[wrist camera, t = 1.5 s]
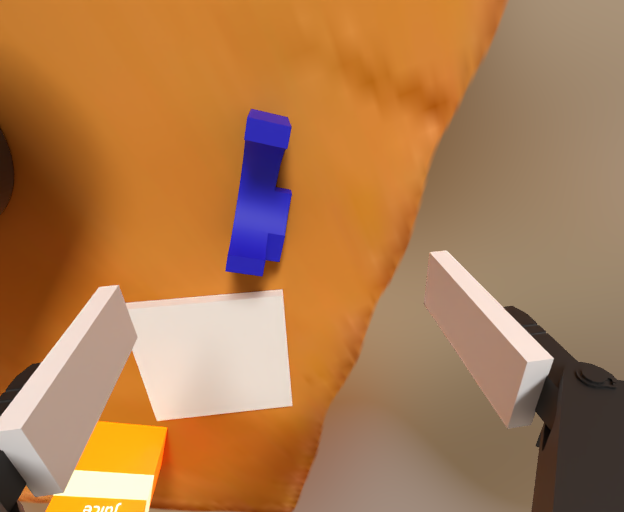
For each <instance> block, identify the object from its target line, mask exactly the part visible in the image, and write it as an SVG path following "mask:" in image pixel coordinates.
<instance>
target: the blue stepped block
mask: <svg viewBox="0 0 624 512" xmlns="http://www.w3.org/2000/svg"><path fill="white" fill-rule="evenodd" d="M290 132H291V125H290V122H289V119H288V117H284V116H280V115H276V114H271V113H267V112H263V111H258V110H254V109H251V111H250V113H249V115H248V117H247V124H246V131H245V138H244V140H245V148H244V157H243V165H242V173H241V180H240V187H239V194H238V200H237V207H236V213H235V219H234V225H233V231H232V236H231V242H230V247H229V252H228V257H227V264H226V271H228V272H235V273H242V274H249V275H256V276H263V271H264V266H265V260H269V261H275V262H280V257H281V252H282V248H283V243H284V238H285V232H286V224H287V217H288V211H289V206H290V200H291V195H292V193H291V190H289V189H283V188H278V187H276V182H277V177H278V173H279V168H280V164H281V160H282V157H283V154H284V151H285V149H287V148H288V142H289V137H290Z"/></svg>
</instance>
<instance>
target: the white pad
mask: <svg viewBox="0 0 624 512" xmlns="http://www.w3.org/2000/svg"><path fill="white" fill-rule="evenodd" d="M125 304H126V306H127V309H128V312H129V315H130V317H131V320H132V323H133V326H134V328H135V331H136V334H137V337H138V338H137V340H136V342H135V344H134V346H133V348H132V351H133V353H134V356H135V359H136V362H137V365H138V368H139V371H140V374H141V376H142V379H143V382H144V385H145V388H146V391H147V394H148V397H149V399H150V402H151V405H152V408H153V411H154V414H155V417H156V420H157V421H162V420H170V419H179V418H188V417H197V416H206V415H215V414H224V413H233V412H242V411H251V410H260V409H268V408H277V407H286V406H292V394H291V382H290V371H289V359H288V347H287V336H286V324H285V313H284V301H283V290H282V289H280V290H269V291H257V292H246V293H234V294H223V295H211V296H200V297H188V298H177V299H165V300H153V301H142V302H130V303H125Z"/></svg>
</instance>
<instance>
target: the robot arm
mask: <svg viewBox="0 0 624 512" xmlns="http://www.w3.org/2000/svg"><path fill="white" fill-rule="evenodd" d="M13 183H14V169H13V162H12V157H11V153H10V150H9V147H8V144H7V142H6V139H5V137H4V135H3V133H2V131H1V129H0V214H1V213H2V212H3V211H4V209H5V207H6V206H7V204H8V202H9V200H10V197H11V194H12V190H13ZM424 305H425V306H426V308H427V309H428V311H429V312H430V314H431V315H432V317H433V318H434V320H435V321H436V323H437V324H438V326H439V327H440V329H441V330H442V332H443V333H444V334H445V336H446V338H447V339H448V341H449V342H450V344H451V345H452V347H453V348H454V350H455V351H456V353H457V354H458V355H459V357H460V359H461V360H462V362H463V363H464V365H465V366H466V368H467V369H468V371H469V372H470V373H471V375H472V377H473V378H474V379H475V381H476V382H477V384H478V385H479V387H480V388H481V390H482V391H483V393H484V394H485V396H486V397H487V399H488V400H489V402H490V403H491V405H492V406H493V408H494V409H495V411H496V412H497V414H498V415H499V417H500V418H501V420H502V421H503V423H504V424H505V426H506V427H507V428H514V427H521V426H528V425H531V423H532V421H533V418H534V415H535V412H537V414H538V415H539V416H540V417H541V419H542V420H543V421H544V425H543V427H542V430H541V433H540V435H539V438H538V441H537V444H536V446H537V447H539V456H538V463H537V471H536V480H535V488H534V496H533V504H532V512H624V381H621V380H617V379H616V378H614V376H613V375H612V374H610V373H609V372H607V371H606V370H604V369H602V368H600V367H597V366H595V365H593V364H589V363H583V362H578V361H577V360H575V359H574V358H573V357H572V356H571V355H570V354H569V353H568V352H567V351H566V350H565V349H564V348H563V347H562V346H561V345H560V344H559V343H557V342H556V341H555V340H554V339H553V338H552V337H551V336H550V335H549V334H546V331H545V330H544V329H543V328H541V327H540V326H539V325H537V323H536V322H535V321H534V320H533V319H532V318H531V317H530V316H529V315H528V314H526V313H524V312H523V311H521V310H519V309H517V308H515V307H513V306H508V307H502V306H501V305H500V304H499V303H498V302H497V301H496V300H495V299H494V298H493V297H492V296H491V295H490V294H489V293H488V292H487V291H486V290H485V289H484V288H483V287H482V286H481V285H480V284H479V283H478V282H477V281H476V280H475V279H474V278H473V277H472V276H471V275H470V274H469V273H468V272H467V271H466V270H465V269H464V268H463V267H462V266H461V265H460V264H459V262H457V260H456V259H455V258H454V257H453V256H452V255H451V254H450V253H448V251H437V252H430V253H429V263H428V272H427V282H426V290H425V299H424ZM137 338H138V337H137V334H136V331H135V328H134V326H133V323H132V320H131V317H130V315H129V312H128V309H127V306H126V304H125V301H124V298H123V296H122V293H121V290H120V287H119V285H114V286H104V287H99V288H98V289H97V291H96V292H95V293H94V295H93V296H92V297H91V298H90V300H89V301H88V302H87V304H86V305H85V306H84V308H83V309H82V310H81V312H80V313H79V314H78V316H77V317H76V318H75V319H74V321H73V322H72V323H71V325H70V326H69V327H68V329H67V330H66V331H65V333H64V334H63V335H62V336H61V338H60V339H59V340H58V342H57V343H56V344H55V346H54V347H53V348H52V350H51V351H50V352H49V353H48V355H47V356H46V357H45V359H44V360H43V361H42V363H36V364H32V365H31V366H29V367H28V368H27V369H25V370H24V371H23V372H22V373H20V374H19V375H18V376H16V378H15V379H14V380H13V381H12V383H11V384H10V385H9V386H8V388H7V389H6V392H4V393H3V394H2V395H1V396H0V512H24V509H23V506H22V504H21V503H20V502H19V500H18V498H19V496H20V494H21V493H22V491H23V489H24V487H25V486H26V485H27V487H28V488H29V490H30V491H31V492H32V494H33V495H34V496H35V497H39V496H46V495H53V494H60V493H64V491H65V489H66V487H67V485H68V483H69V481H70V478H71V476H72V474H73V472H74V470H75V468H76V466H77V464H78V462H79V460H80V457H81V455H82V453H83V451H84V449H85V447H86V445H87V443H88V441H89V439H90V437H91V434H92V432H93V430H94V428H95V426H96V424H97V422H98V420H99V418H100V416H101V413H102V411H103V409H104V407H105V405H106V403H107V401H108V399H109V397H110V395H111V393H112V390H113V388H114V386H115V384H116V382H117V380H118V378H119V376H120V374H121V372H122V369H123V367H124V365H125V363H126V361H127V359H128V357H129V355H130V353H131V351H132V348H133V346H134V344H135V342H136V340H137Z"/></svg>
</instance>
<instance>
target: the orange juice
mask: <svg viewBox="0 0 624 512" xmlns="http://www.w3.org/2000/svg"><path fill="white" fill-rule="evenodd" d="M166 433H167V427H156V426H145V425H135V424H124V423H113V422H103V421H98V422H97V424H96V426H95V428H94V430H93V432H92V434H91V437H90V439H89V441H88V443H87V445H86V447H85V449H84V451H83V453H82V455H81V457H80V460H79V462H78V464H77V466H76V468H75V470H74V472H73V474H72V476H71V478H70V481H69V483H68V485H67V487H66V489H65V491H64V493H60V494H54V495H53V498H52V500H51V502H50V504H49V506H48V508H47V510H46V512H148V511H149V508H150V504H151V500H152V497H153V493H154V489H155V486H156V482H157V478H158V475H159V471H160V467H161V463H162V457H163V451H164V445H165V439H166Z"/></svg>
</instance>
